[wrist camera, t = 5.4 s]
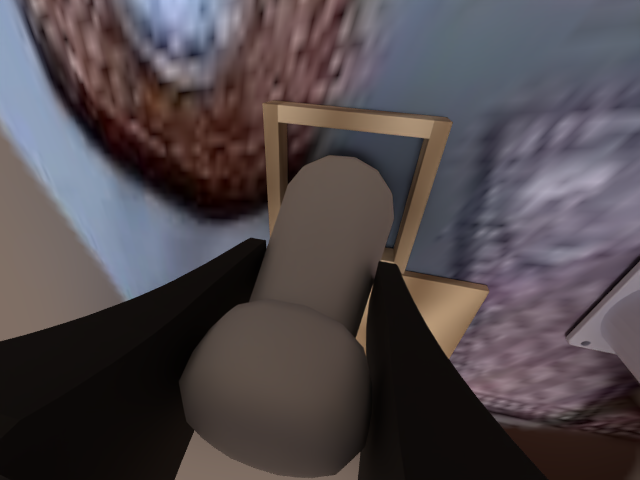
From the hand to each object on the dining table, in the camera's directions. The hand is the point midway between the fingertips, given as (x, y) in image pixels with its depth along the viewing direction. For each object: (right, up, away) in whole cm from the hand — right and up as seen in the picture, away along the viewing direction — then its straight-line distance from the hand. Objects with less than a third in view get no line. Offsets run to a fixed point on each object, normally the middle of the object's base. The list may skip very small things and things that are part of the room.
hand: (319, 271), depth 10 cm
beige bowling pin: (+1, +4, +6) cm, 8 cm away
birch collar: (+2, +4, +6) cm, 8 cm away
